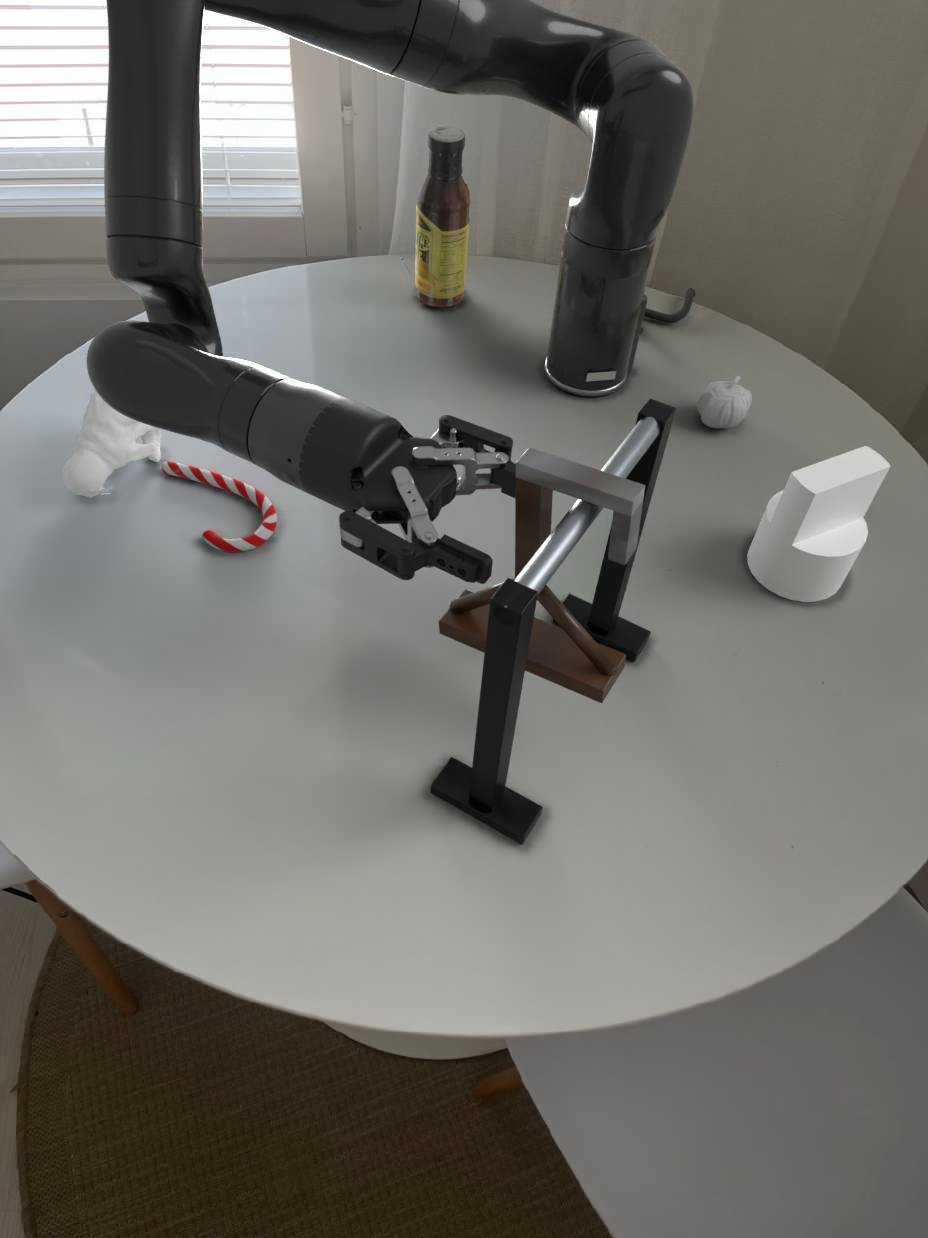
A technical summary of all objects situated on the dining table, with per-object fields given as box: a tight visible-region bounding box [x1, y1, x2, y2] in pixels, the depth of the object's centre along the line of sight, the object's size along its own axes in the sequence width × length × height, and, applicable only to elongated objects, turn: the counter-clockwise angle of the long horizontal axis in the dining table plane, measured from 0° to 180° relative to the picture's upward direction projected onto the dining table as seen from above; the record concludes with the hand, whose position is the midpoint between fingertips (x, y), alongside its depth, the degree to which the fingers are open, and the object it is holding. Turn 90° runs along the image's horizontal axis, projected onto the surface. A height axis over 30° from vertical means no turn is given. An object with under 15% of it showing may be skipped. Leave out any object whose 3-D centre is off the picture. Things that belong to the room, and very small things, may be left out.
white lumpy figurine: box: [62, 389, 163, 499], centre depth 87 cm, size 6×8×12 cm
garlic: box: [696, 375, 753, 429], centre depth 98 cm, size 6×5×5 cm
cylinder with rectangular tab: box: [746, 445, 891, 603], centre depth 81 cm, size 9×9×12 cm
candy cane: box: [161, 460, 278, 553], centre depth 87 cm, size 8×1×15 cm
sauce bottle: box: [414, 124, 471, 309], centre depth 105 cm, size 7×6×20 cm
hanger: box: [438, 447, 645, 704], centre depth 63 cm, size 14×4×18 cm, turn 59°
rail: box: [430, 398, 677, 846], centre depth 65 cm, size 23×8×24 cm, turn 149°
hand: (521, 533), depth 62 cm, fingers open, 8 cm apart
